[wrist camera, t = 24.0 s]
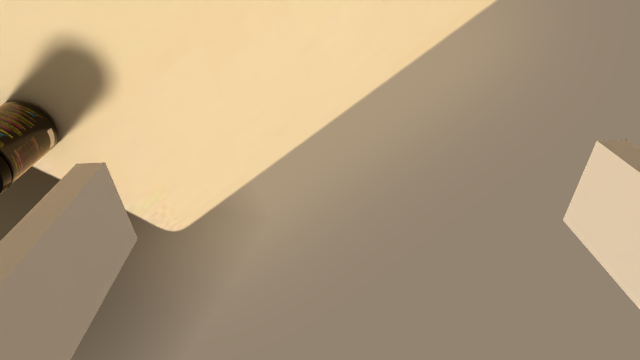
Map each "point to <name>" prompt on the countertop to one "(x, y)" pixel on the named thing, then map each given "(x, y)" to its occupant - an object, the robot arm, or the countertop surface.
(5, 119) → the supplement container
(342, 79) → the countertop surface
